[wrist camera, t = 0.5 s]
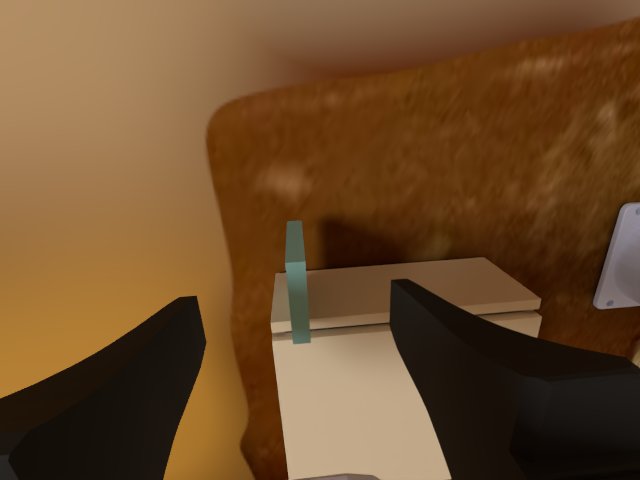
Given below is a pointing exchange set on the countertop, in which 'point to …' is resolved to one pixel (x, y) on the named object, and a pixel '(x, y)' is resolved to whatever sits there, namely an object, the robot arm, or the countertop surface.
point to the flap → (382, 290)
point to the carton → (360, 403)
